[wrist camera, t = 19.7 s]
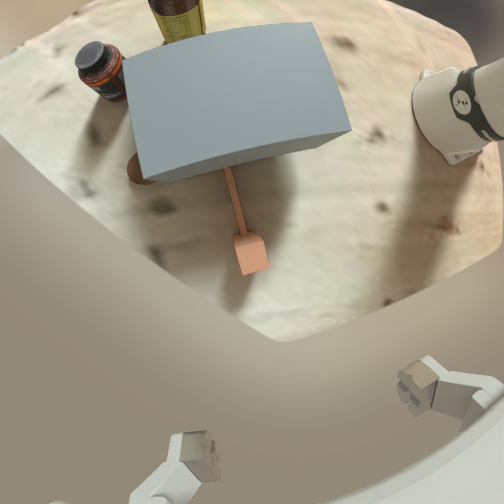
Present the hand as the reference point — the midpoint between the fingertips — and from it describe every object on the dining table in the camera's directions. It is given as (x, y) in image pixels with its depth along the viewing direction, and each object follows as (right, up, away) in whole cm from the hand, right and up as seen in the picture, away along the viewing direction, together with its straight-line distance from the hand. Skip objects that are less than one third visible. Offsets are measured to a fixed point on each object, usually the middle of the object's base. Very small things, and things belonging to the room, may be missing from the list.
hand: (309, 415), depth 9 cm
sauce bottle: (-12, +39, +21) cm, 46 cm away
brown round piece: (-17, +18, +25) cm, 35 cm away
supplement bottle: (-22, +31, +22) cm, 44 cm away
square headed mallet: (-4, +12, +27) cm, 30 cm away
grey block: (-5, +23, +25) cm, 34 cm away
